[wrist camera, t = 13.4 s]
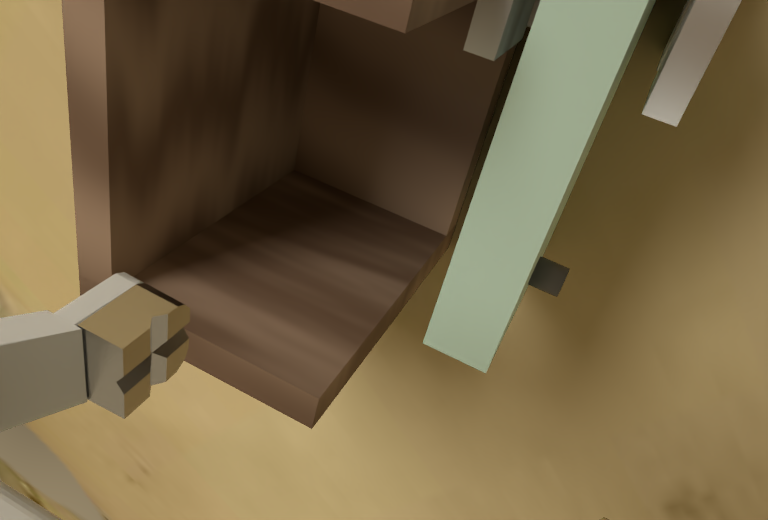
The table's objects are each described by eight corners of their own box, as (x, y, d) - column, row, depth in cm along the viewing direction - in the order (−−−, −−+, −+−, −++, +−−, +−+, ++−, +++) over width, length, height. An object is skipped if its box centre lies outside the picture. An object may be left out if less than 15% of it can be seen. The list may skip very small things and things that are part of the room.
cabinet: (334, -200, 26) (45, -264, 15) (759, -82, 22) (798, -49, 11) (280, 174, 35) (81, 305, 24) (570, 300, 32) (489, 523, 21)
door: (607, -58, 24) (551, -32, 16) (706, -29, 23) (698, 15, 16) (497, 228, 32) (422, 343, 24) (569, 259, 31) (517, 388, 23)
